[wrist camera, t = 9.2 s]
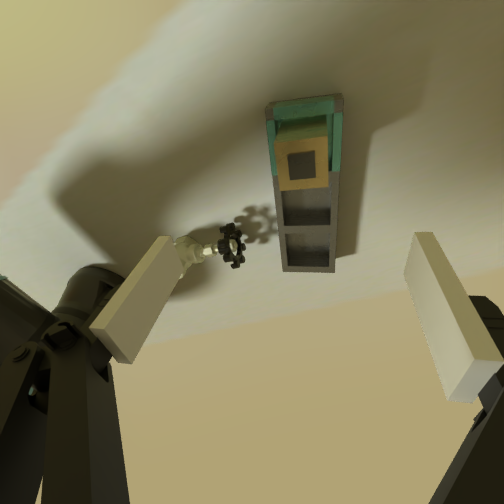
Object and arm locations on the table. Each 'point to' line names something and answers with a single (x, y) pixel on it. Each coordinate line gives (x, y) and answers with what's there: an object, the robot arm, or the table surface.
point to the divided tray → (308, 190)
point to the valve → (212, 249)
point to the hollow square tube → (302, 153)
